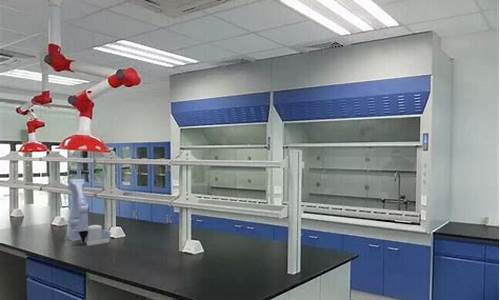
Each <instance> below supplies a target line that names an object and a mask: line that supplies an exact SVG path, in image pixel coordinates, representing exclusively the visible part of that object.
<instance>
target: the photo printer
mask: <svg viewBox="0 0 500 300" xmlns="http://www.w3.org/2000/svg"><path fill="white" fill-rule="evenodd" d="M90 228H91V229H90ZM88 229H90V230H87V232H88V234H87V236H86V242H85V244H87V242H89V241H95V240H102V230H103V228H102V225H99V224H92V225H88Z"/></svg>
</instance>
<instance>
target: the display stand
mask: <svg viewBox="0 0 500 300" xmlns="http://www.w3.org/2000/svg"><path fill="white" fill-rule="evenodd" d="M111 234H112V233H111V231H108V230H106V229H102V240H95V241H89V242H87V243H86V238H85V242H84V243H86V246H94V245H95V246H96V245H100V244H107V243H111ZM80 243H81V244H83V242H82V240H80Z"/></svg>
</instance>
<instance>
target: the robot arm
mask: <svg viewBox="0 0 500 300" xmlns="http://www.w3.org/2000/svg"><path fill="white" fill-rule="evenodd" d="M85 185H86V181H85V178H73V179H72V178H70V179H69V180H68V189H69V192H71V194H72V214H71V215H70V216H69V217H68V226H69V228H70V230H69V238H68V240H70V241H72V242H76V241H81V240H82V242H83V243H84V244H85V243H86V242H85V238H86V236H87V234H88V232H87V230H90V229H91V228H90V229H88V226H89V213H90V206H89V204H88V202H87V199H86V197H85V195H84V190H83V189H84V188H85ZM83 243H82V244H83Z"/></svg>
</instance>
